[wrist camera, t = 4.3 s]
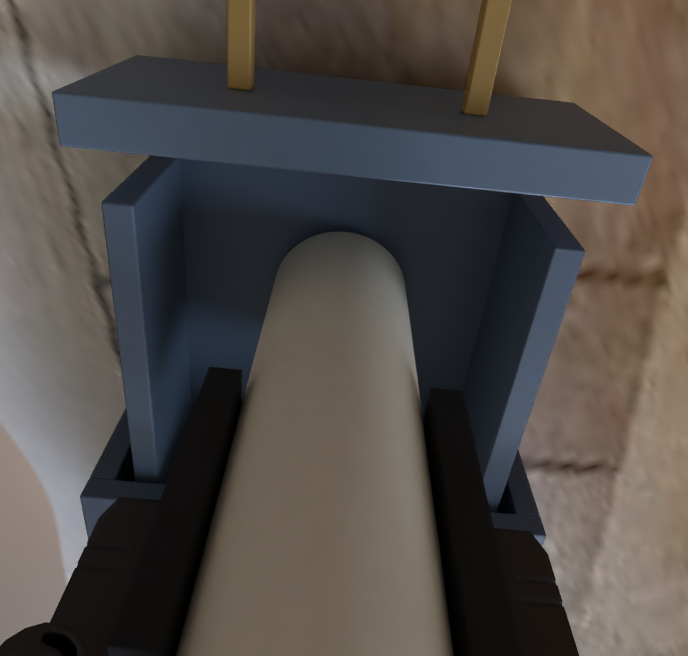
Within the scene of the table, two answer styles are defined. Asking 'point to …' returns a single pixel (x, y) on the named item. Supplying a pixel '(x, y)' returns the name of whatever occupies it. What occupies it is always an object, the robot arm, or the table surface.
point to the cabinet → (119, 481)
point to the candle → (326, 477)
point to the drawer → (339, 220)
